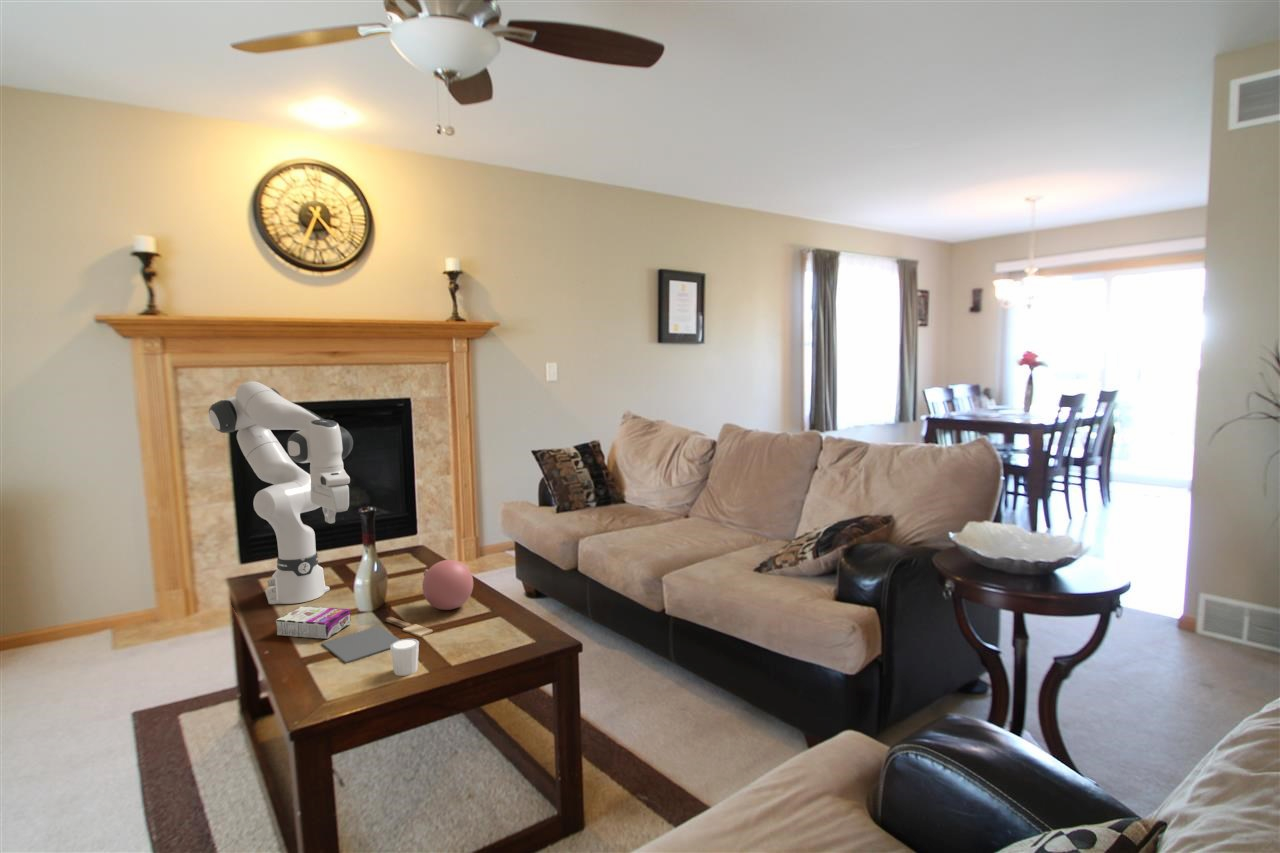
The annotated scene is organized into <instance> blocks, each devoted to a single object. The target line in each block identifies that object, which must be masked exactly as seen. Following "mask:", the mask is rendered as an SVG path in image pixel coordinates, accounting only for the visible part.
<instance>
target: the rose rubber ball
mask: <svg viewBox="0 0 1280 853" xmlns="http://www.w3.org/2000/svg"><path fill="white" fill-rule="evenodd" d="M421 586H422V594H423V596H424V598H425V600H426V602H427V603H428V604H429V605H431V606H432V607H434V608H435V609H437V610H442V611H451V610H454V609H455V610H456V609H458V608H460V607H461V606H463V605H464V604H465V603H466V602H467V601H468V600H469V599H470V597H471V596H472V593H473V589H474V578H473V574H472V572H471V570H470V569H469V568H468V567H467V566H466V565H465V564H464V563H462V562H461V561H459V560H455V559H445V560H441V561H438V562H436V563H435V564H433V565H432V566H430V567H429V569H424V573H423V580H422V585H421Z"/></svg>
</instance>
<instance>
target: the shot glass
mask: <svg viewBox="0 0 1280 853" xmlns="http://www.w3.org/2000/svg"><path fill="white" fill-rule="evenodd" d="M419 645H420V641H419V640H417V639H415V638H402V639H400V640H398V641H396V642H394V643H392V644H391V646H390V654H391V656H390V657H391V659H392V668H393V673H394V675H396V676H400V677H403V676H409V675H412V674H414V673H416V672H417V671H418V666H419Z"/></svg>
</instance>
